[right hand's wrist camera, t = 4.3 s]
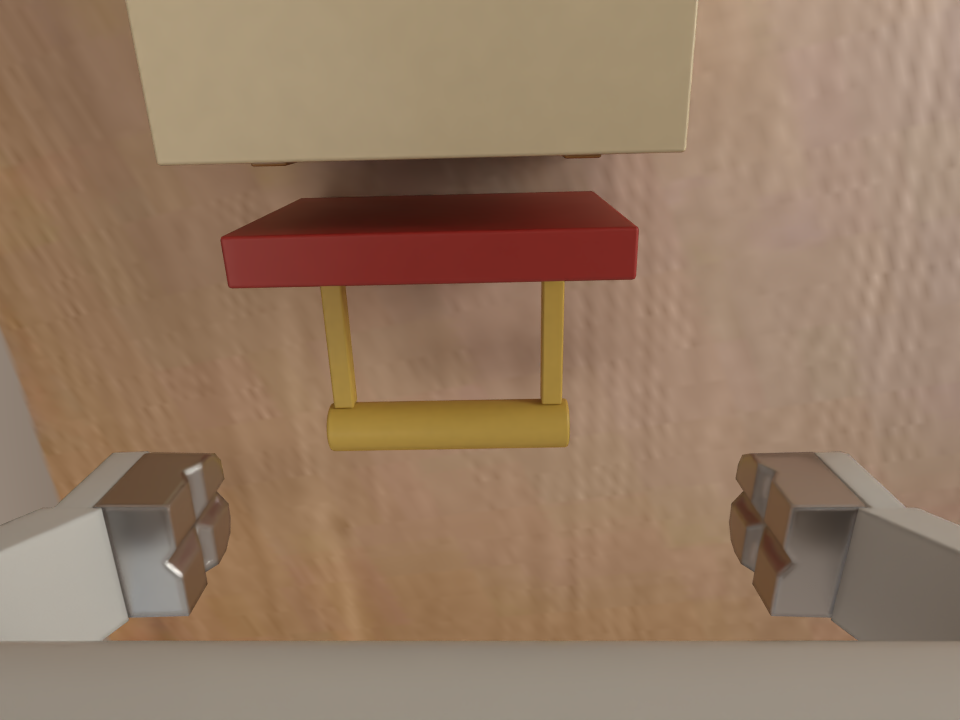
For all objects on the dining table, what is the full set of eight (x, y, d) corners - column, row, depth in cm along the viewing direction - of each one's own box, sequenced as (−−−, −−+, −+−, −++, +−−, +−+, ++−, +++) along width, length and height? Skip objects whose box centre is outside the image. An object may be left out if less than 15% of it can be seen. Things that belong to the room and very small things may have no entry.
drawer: (586, 400, 23) (622, 508, 17) (324, 405, 23) (265, 513, 17) (622, -573, 15) (721, -1081, 8) (207, -553, 15) (2, -1035, 8)
